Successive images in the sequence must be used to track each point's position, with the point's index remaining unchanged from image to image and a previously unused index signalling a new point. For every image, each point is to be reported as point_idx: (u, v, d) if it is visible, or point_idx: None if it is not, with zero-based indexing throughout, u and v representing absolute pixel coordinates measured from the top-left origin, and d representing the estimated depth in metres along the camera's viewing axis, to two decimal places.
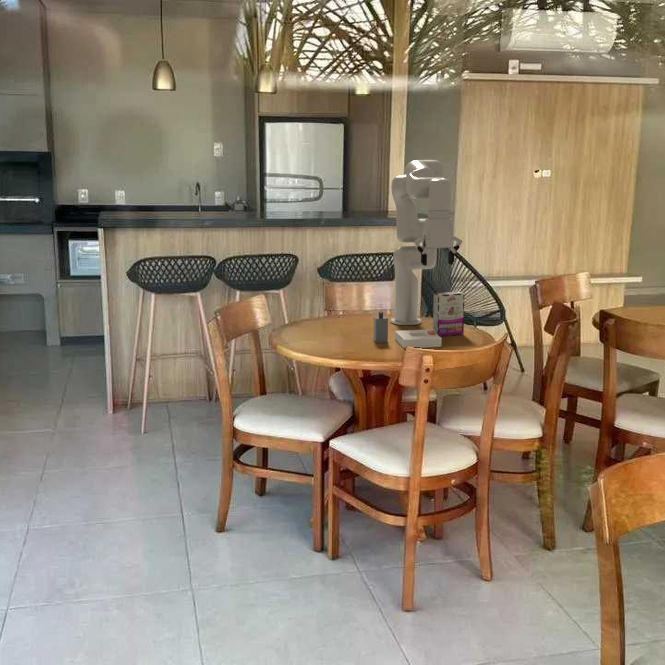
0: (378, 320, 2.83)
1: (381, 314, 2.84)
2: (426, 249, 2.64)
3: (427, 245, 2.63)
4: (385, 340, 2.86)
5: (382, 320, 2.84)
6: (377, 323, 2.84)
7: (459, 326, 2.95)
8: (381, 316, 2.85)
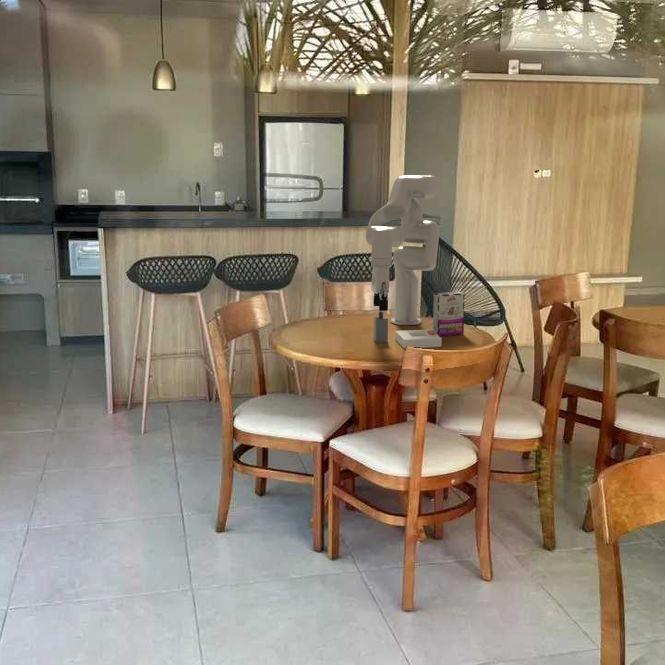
0: (378, 320, 2.83)
1: (381, 314, 2.84)
2: None
3: (388, 291, 2.78)
4: (385, 340, 2.86)
5: (382, 320, 2.84)
6: (377, 323, 2.84)
7: (459, 326, 2.95)
8: (381, 316, 2.85)
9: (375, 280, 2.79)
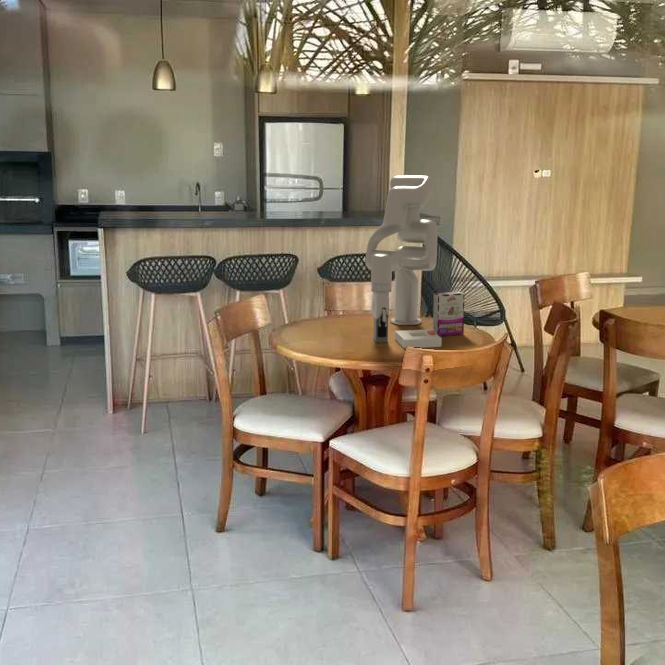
0: (378, 320, 2.83)
1: None
2: None
3: (388, 316, 2.81)
4: (385, 340, 2.86)
5: None
6: (377, 323, 2.84)
7: (459, 326, 2.95)
8: None
9: (375, 305, 2.81)
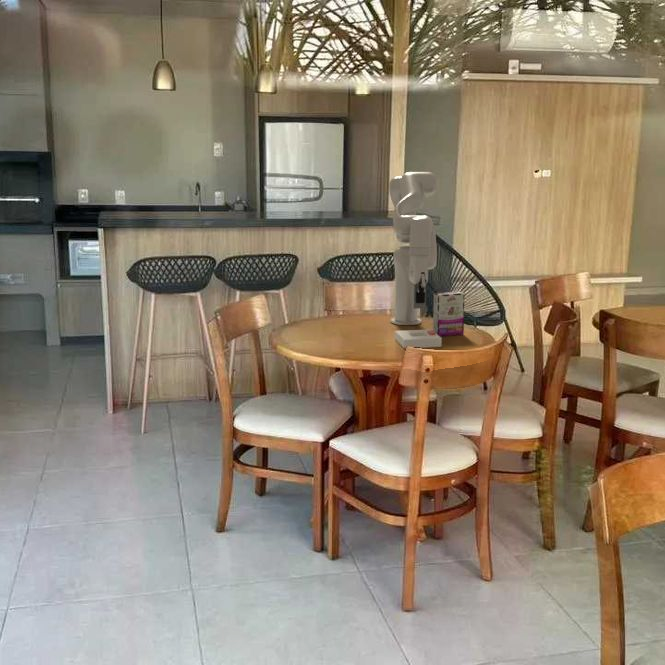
0: (416, 285, 2.77)
1: None
2: None
3: (427, 281, 2.75)
4: (423, 306, 2.79)
5: (420, 285, 2.77)
6: (415, 288, 2.77)
7: (459, 326, 2.95)
8: None
9: (414, 270, 2.75)
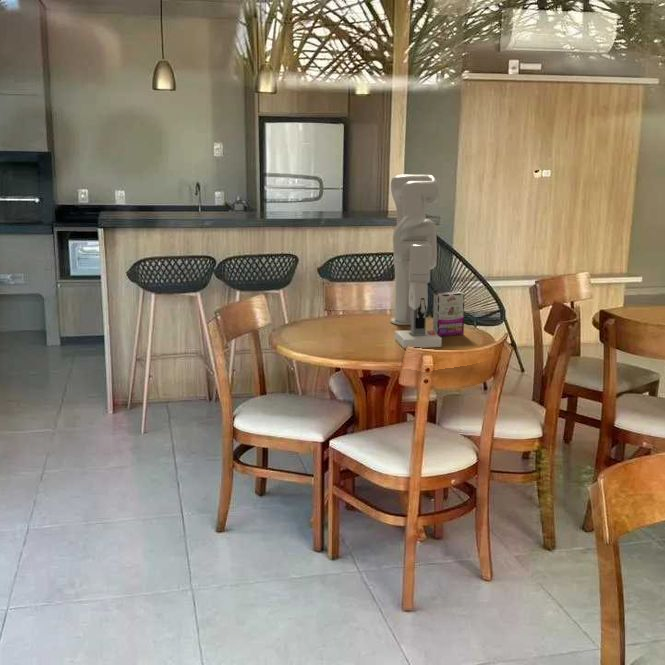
0: (416, 311, 2.79)
1: None
2: None
3: None
4: (423, 331, 2.82)
5: (420, 311, 2.80)
6: (415, 314, 2.80)
7: (459, 326, 2.95)
8: None
9: (413, 296, 2.77)
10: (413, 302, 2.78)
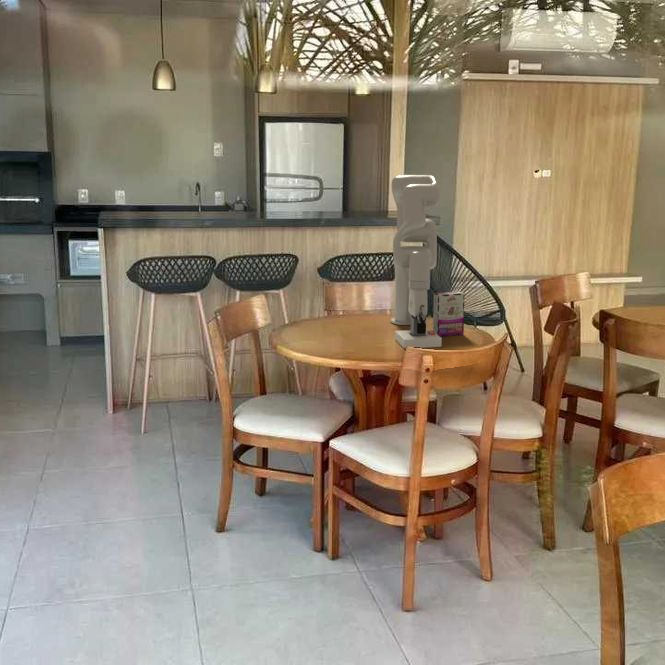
0: (416, 320, 2.80)
1: None
2: None
3: (426, 313, 2.78)
4: None
5: None
6: (415, 323, 2.81)
7: (459, 326, 2.95)
8: None
9: (413, 303, 2.78)
10: (413, 309, 2.78)
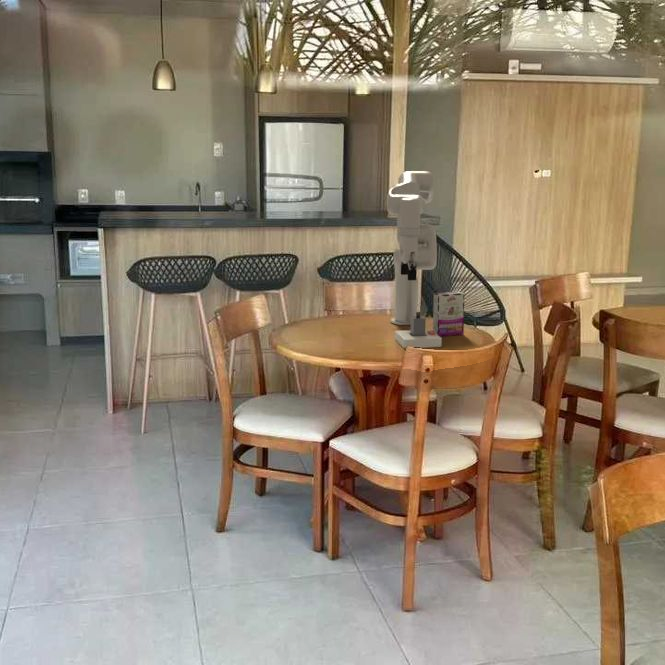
0: (416, 320, 2.80)
1: (418, 314, 2.81)
2: None
3: (417, 260, 2.80)
4: None
5: (420, 320, 2.81)
6: (415, 323, 2.81)
7: (459, 326, 2.95)
8: (418, 316, 2.82)
9: (403, 250, 2.80)
10: (403, 256, 2.81)
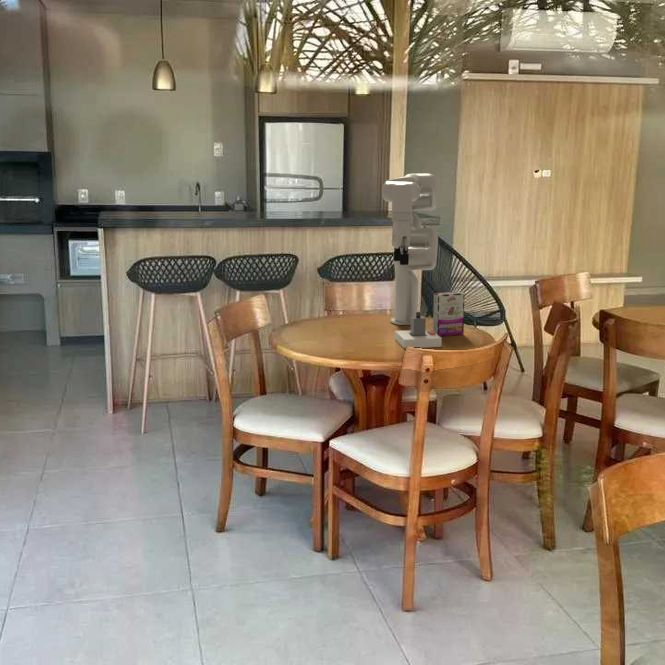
0: (416, 320, 2.80)
1: (418, 314, 2.81)
2: None
3: (409, 245, 2.83)
4: None
5: (420, 320, 2.81)
6: (415, 323, 2.81)
7: (459, 326, 2.95)
8: (418, 316, 2.82)
9: (396, 234, 2.83)
10: (396, 241, 2.84)
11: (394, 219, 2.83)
